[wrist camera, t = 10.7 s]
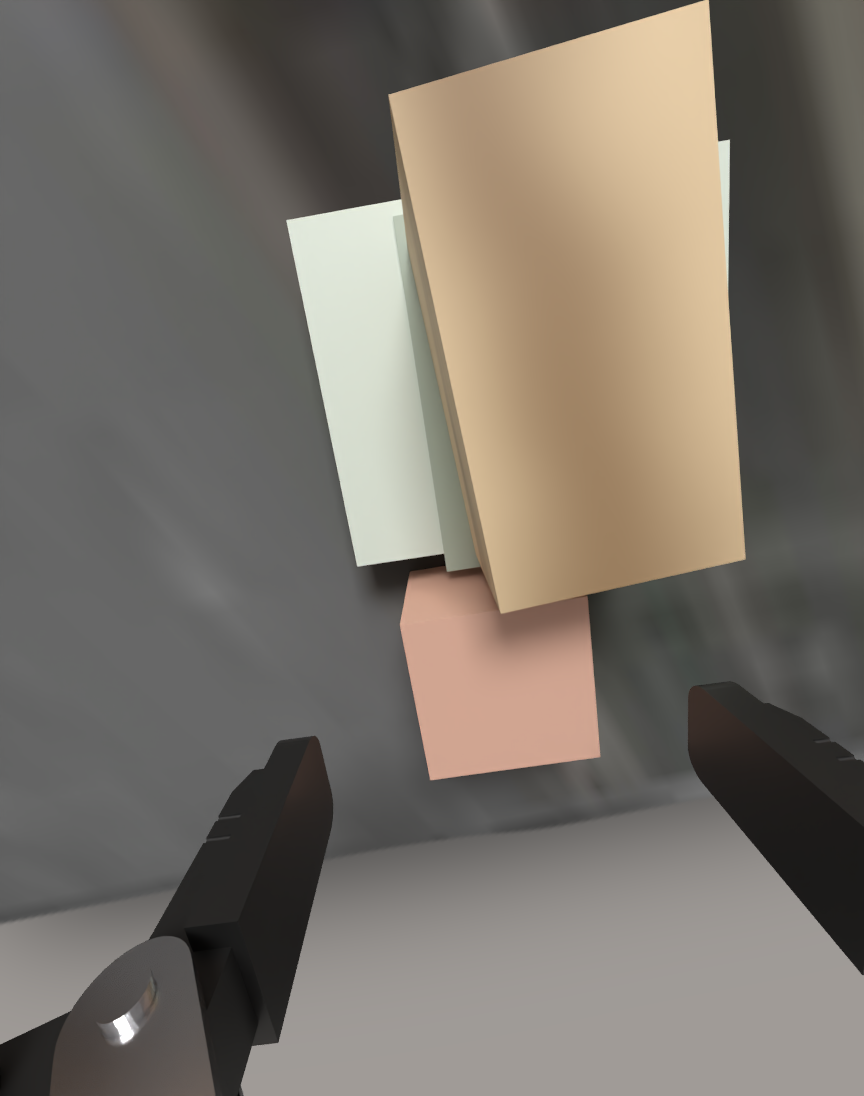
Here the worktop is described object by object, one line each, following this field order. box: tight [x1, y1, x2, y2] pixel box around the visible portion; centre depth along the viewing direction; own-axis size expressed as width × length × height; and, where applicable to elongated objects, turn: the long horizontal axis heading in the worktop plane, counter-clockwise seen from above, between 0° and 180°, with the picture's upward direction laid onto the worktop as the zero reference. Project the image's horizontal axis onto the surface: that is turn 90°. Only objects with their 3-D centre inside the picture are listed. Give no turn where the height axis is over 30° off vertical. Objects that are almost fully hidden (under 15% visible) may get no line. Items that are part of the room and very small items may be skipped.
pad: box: [287, 140, 730, 572], centre depth 13 cm, size 12×11×2 cm
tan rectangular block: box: [389, 0, 745, 614], centre depth 10 cm, size 5×9×5 cm, turn 14°
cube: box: [400, 566, 600, 780], centre depth 14 cm, size 5×5×5 cm
